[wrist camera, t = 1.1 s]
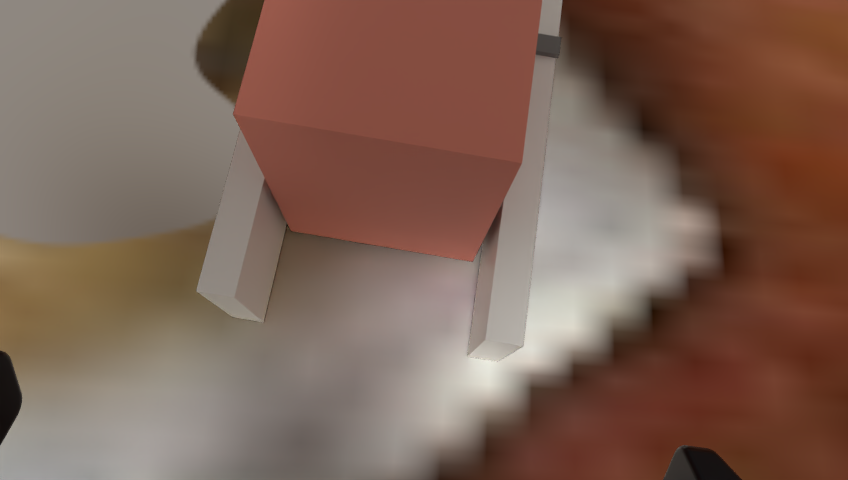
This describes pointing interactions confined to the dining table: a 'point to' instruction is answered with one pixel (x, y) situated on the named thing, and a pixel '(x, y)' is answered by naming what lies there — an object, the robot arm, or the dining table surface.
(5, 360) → the robot arm
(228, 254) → the plug guide
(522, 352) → the dining table surface
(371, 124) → the plug
